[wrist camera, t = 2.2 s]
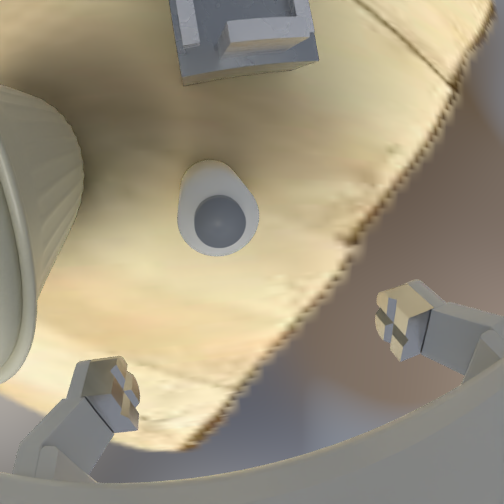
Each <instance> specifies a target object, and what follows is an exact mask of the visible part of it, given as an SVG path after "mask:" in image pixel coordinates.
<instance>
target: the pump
mask: <svg viewBox="0 0 504 504" xmlns="http://www.w3.org/2000/svg"><path fill="white" fill-rule="evenodd" d="M177 219H178V227H179V231H180V233H181V235H182V237H183V239H184V240H185V242H186V243H187V244H188V245H189V246H190V247H191V248H193V249H194V250H196V251H197V252H199V253H202V254H205V255H209V256H224V255H229V254H232V253H234V252H236V251H238V250H240V249H241V248H243V247H244V246H245V245H246V244H247V243H248V242H249V241H250V240H251V239H252V237H253V236H254V234H255V232H256V230H257V226H258V222H259V209H258V205H257V203H256V200H255V198H254V197H253V195H252V194H251V192H250V191H249V190H248V189H247V187H246V186H245V185H244V184H243V182H242V181H241V180H240V179H239V177H238V176H237V175H236V174H235V172H234V171H233V170H232V169H231V168H230V167H229V166H228V165H227V164H225V163H223V162H221V161H217V160H203V161H200V162H197V163H196V164H194V165H192V166H191V167H190V168H189V169H188V170H187V171H186V172H185V174H184V176H183V178H182V180H181V184H180V194H179V205H178V217H177Z"/></svg>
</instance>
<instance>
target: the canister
mask: <svg viewBox="0 0 504 504" xmlns="http://www.w3.org/2000/svg"><path fill="white" fill-rule="evenodd" d="M83 163H84V162H83V159H82V156H81V148H80V147H79V145H78V142H77V137H76V136H75V134H74V133H73V131H72V127H71V125H69V124H68V123H67V122H66V120H65V117H64V116H63V115H62V114H60V113H59V112H58V111H57V110H56V108H55V107H53V106H51V105H49V104H47V102H45V101H44V100H42V99H40V98H37V97H35V96H32V95H30V94H27V93H24V92H21V91H19V90H16V89H13V88H10V87H7V86H4V85H1V84H0V384H1V383H3V382H5V381H7V380H8V379H10V378H11V377H12V376H14V375H15V374H16V373H17V371H18V370H19V369H20V368H21V366H22V365H23V363H24V361H25V359H26V357H27V355H28V353H29V351H30V348H31V345H32V342H33V338H34V333H35V327H36V318H37V300H38V297H39V295H40V293H41V290H42V288H43V286H44V284H45V281H46V279H47V277H48V275H49V273H50V271H51V269H52V267H53V265H54V263H55V260H56V258H57V256H58V254H59V252H60V250H61V248H62V246H63V244H64V241H65V239H66V237H67V235H68V233H69V231H70V229H71V227H72V225H73V223H74V221H75V219H76V216H77V212H78V208H79V206H80V204H81V195H82V192H83V190H84V186H83V179H84V172H83Z"/></svg>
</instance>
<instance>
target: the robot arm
mask: <svg viewBox="0 0 504 504" xmlns="http://www.w3.org/2000/svg"><path fill="white" fill-rule="evenodd" d="M377 304H378V306H380V308H379V310H378V311H377V313H376V316H375V317H376V318H375V324H376V328H377V331H378V333H379V335H380V337H381V338H382V340H383V341H386V342H389V343H391V345H390V350H391V351H392V352H393V354H394V355H395V356H396V357H397V359H398V360H399V361H400V362H401V361H404V360H406V359H408V358H411V357H413V356H415V355H418V354H420V353H421V354H422V355H423V356H425V357H427V358H429V359H431V360H434V361H436V362H438V363H440V364H442V365H444V366H446V367H448V368H450V369H452V370H454V371H456V372H459V373H460V374H463V375H465V376H464V379H463V381H462V383H461V385H460V386H458V387H457V388H455V389H453V390H452V391H450V392H448V393H446V394H445V395H443V396H441V397H439V398H437V399H435V400H434V401H432V402H430V403H428V404H426V405H424V406H422V407H421V408H418V409H416V410H415V411H413V412H410V413H408V414H406V415H404V416H402V417H400V418H398V419H396V420H394V421H391V422H389V423H387V424H385V425H383V426H380V427H378V428H375V429H373V430H371V431H368V432H366V433H363V434H361V435H358V436H356V437H353V438H351V439H348V440H345V441H343V442H340V443H337V444H334V445H331V446H329V447H325V448H323V449H319V450H316V451H314V452H310V453H307V454H304V455H300V456H297V457H294V458H290V459H286V460H283V461H279V462H275V463H271V464H267V465H263V466H258V467H254V468H250V469H244V470H240V471H234V472H229V473H224V474H218V475H211V476H205V477H198V478H191V479H181V480H172V481H160V482H144V483H98V482H96V481H95V480H94V479H92V478H91V477H90V476H89V474H90V472H91V470H92V469H93V467H94V466H95V464H96V463H97V461H98V459H99V458H100V456H101V454H102V453H103V451H104V450H105V448H106V446H107V445H108V443H109V442H110V440H111V439H112V437H113V435H114V433H119V432H128V431H136V430H138V419H139V413H138V411H137V410H136V409H135V408H136V406H137V405H138V404H139V403H140V392H139V386H138V384H137V381H136V379H135V377H134V375H133V374H131V373H130V372H128V371H127V363H126V361H125V360H124V358H123V357H121V356H115V357H108V358H100V359H93V360H85V361H79V362H78V363H77V364H76V367H75V370H74V374H73V377H72V380H71V384H70V387H69V391H68V394H67V398H66V399H62V400H61V401H60V402H59V403H58V404H57V405H56V406H55V407H54V408H53V409H52V410H51V411H50V412H49V413H48V414H47V415H46V416H45V417H44V418H43V419H42V421H41V422H40V423H39V424H38V425H37V426H36V427H35V428H34V429H33V430H32V431H31V432H30V433H29V434H28V435H27V436H26V437H25V438H24V440H22V442H21V443H20V445H19V449H18V452H17V456H16V460H15V464H14V468H13V473H12V474H8V473H3V472H0V504H504V316H500V315H497V314H493V313H489V312H486V311H482V310H479V309H475V308H471V307H467V306H464V305H460V304H457V303H453V302H448V303H446V302H445V301H444V300H443V299H441V298H440V297H439V296H438V295H437V294H436V293H434V292H433V291H432V290H431V289H430V288H429V287H427V286H426V285H425V284H424V283H423V282H422V281H420V280H417V279H415V280H413V281H410V282H407V283H405V284H403V285H400V286H397V287H394V288H391V289H388V290H385V291H383V292H379V294H378V296H377Z"/></svg>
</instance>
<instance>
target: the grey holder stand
mask: <svg viewBox="0 0 504 504" xmlns="http://www.w3.org/2000/svg"><path fill="white" fill-rule="evenodd" d="M169 4H170V10H171V17H172V23H173V29H174V35H175V41H176V47H177V53H178V59H179V65H180V70H181V76H182V82H183V86H187V85H191V84H196V83H202V82H207V81H212V80H218V79H224V78H231V77H237V76H244V75H252V74H260V73H269V72H280V71H291V70H294V69H297V68H300V67H302V66H305V65H308V64H311V63H314V62H317V61H319V57H318V52H317V46H316V40H315V35H314V32H315V31H314V26H313V21H312V16H311V11H310V6H309V2H308V0H169Z"/></svg>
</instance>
